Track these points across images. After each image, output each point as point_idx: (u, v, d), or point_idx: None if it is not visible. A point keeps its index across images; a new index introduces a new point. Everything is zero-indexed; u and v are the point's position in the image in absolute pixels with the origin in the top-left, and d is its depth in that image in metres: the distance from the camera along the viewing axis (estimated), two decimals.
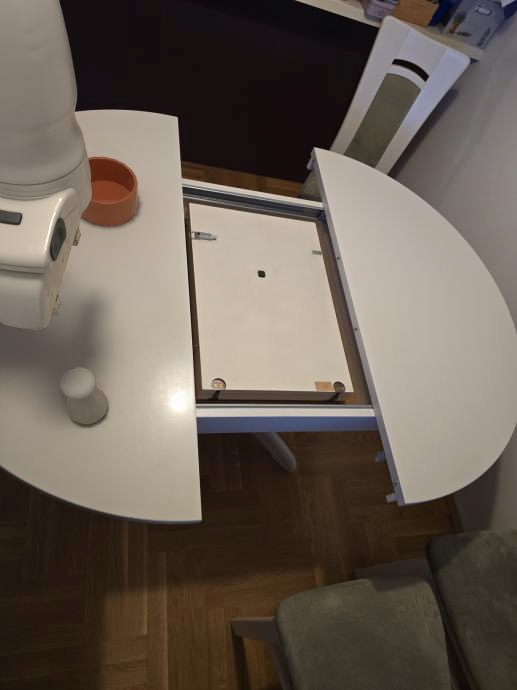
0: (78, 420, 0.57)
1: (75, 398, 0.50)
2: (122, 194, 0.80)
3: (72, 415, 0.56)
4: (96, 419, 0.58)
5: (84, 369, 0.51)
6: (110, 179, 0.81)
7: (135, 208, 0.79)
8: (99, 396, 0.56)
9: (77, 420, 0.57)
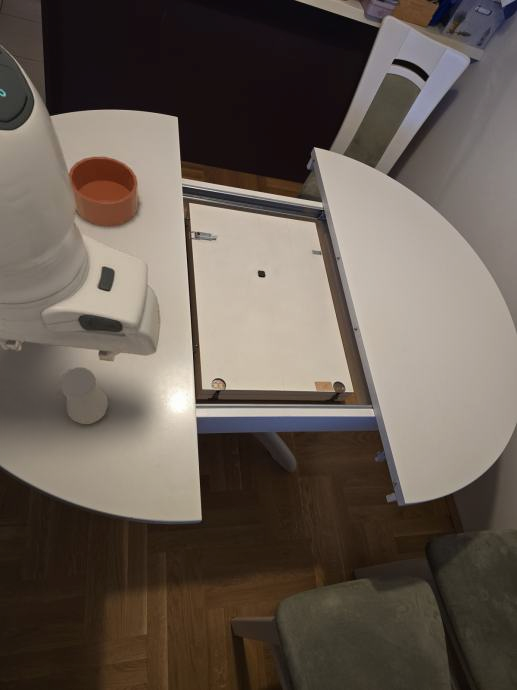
0: (78, 420, 0.57)
1: (75, 398, 0.50)
2: (122, 194, 0.80)
3: (72, 415, 0.56)
4: (96, 419, 0.58)
5: (84, 369, 0.51)
6: (110, 179, 0.81)
7: (135, 208, 0.79)
8: (99, 396, 0.56)
9: (77, 420, 0.57)
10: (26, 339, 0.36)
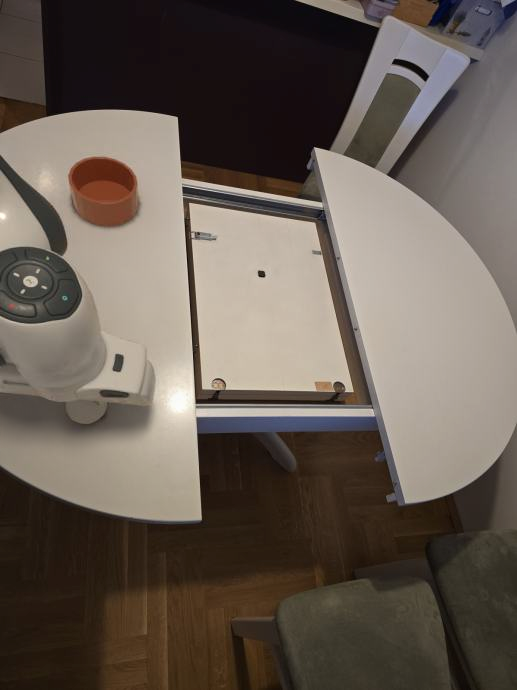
0: (77, 420, 0.57)
1: None
2: (122, 194, 0.80)
3: (71, 415, 0.56)
4: (95, 419, 0.58)
5: None
6: (110, 179, 0.81)
7: (135, 208, 0.79)
8: None
9: (76, 420, 0.57)
10: None
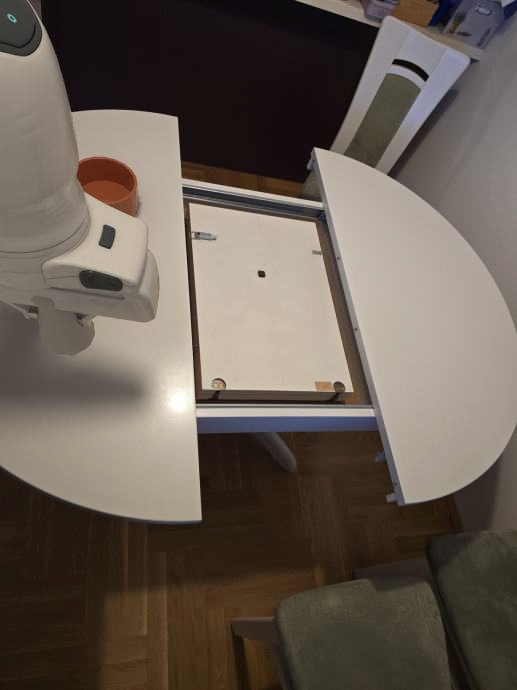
0: (54, 349, 0.43)
1: (43, 303, 0.36)
2: (122, 194, 0.80)
3: (46, 340, 0.42)
4: (79, 348, 0.44)
5: None
6: (110, 179, 0.81)
7: (135, 208, 0.79)
8: None
9: (53, 348, 0.43)
10: (25, 301, 0.36)
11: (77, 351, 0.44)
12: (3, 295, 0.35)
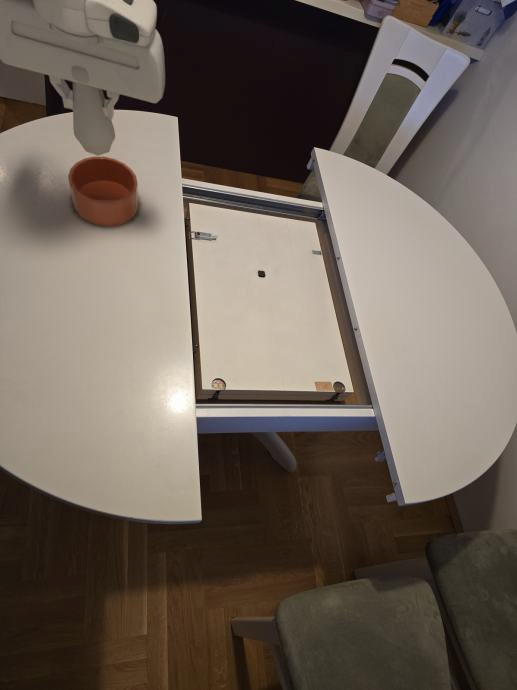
0: (84, 139, 0.56)
1: (80, 73, 0.49)
2: (122, 194, 0.80)
3: (78, 130, 0.55)
4: (103, 142, 0.57)
5: None
6: (110, 179, 0.81)
7: (135, 208, 0.79)
8: None
9: (84, 138, 0.56)
10: (67, 73, 0.49)
11: (102, 144, 0.57)
12: (51, 65, 0.48)
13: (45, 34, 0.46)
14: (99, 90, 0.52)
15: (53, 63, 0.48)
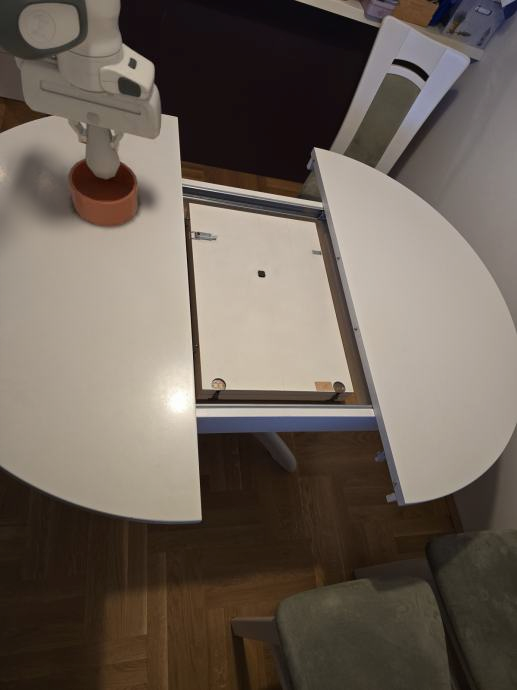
0: (95, 167, 0.68)
1: (93, 118, 0.61)
2: (122, 194, 0.80)
3: (90, 159, 0.68)
4: (110, 168, 0.69)
5: None
6: (110, 179, 0.81)
7: (135, 208, 0.79)
8: None
9: (94, 166, 0.68)
10: (82, 117, 0.61)
11: (109, 171, 0.69)
12: (70, 112, 0.60)
13: (67, 89, 0.58)
14: (108, 129, 0.65)
15: (72, 110, 0.60)
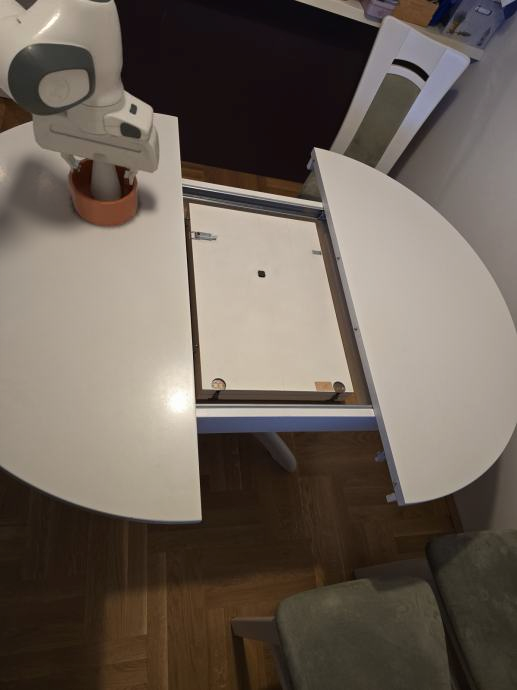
0: (99, 199, 0.75)
1: (100, 158, 0.67)
2: (122, 194, 0.80)
3: (95, 192, 0.74)
4: (113, 200, 0.76)
5: None
6: None
7: (135, 208, 0.79)
8: (116, 176, 0.73)
9: (99, 198, 0.75)
10: (87, 154, 0.67)
11: None
12: (76, 150, 0.66)
13: (74, 131, 0.64)
14: (112, 166, 0.71)
15: (78, 148, 0.66)
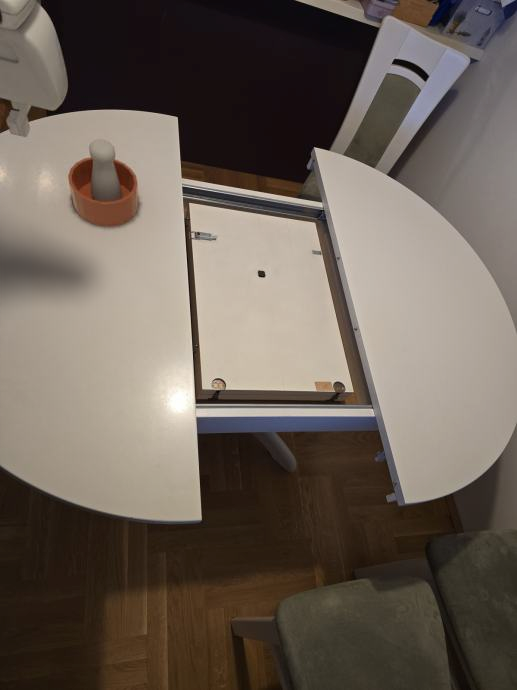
0: (99, 199, 0.75)
1: (100, 158, 0.67)
2: (122, 194, 0.80)
3: (95, 192, 0.74)
4: (113, 200, 0.76)
5: None
6: None
7: (135, 208, 0.79)
8: (116, 176, 0.73)
9: (99, 198, 0.75)
10: None
11: None
12: None
13: None
14: (112, 166, 0.71)
15: None
